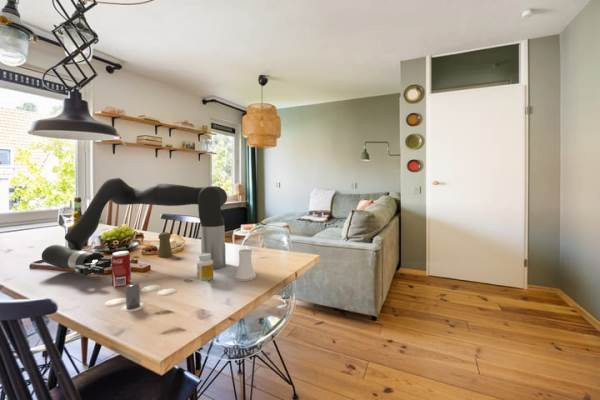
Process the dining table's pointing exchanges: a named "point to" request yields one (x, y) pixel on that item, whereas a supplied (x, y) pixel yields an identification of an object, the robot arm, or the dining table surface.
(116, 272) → the soda can
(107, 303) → the white oval discs
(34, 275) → the dining table surface
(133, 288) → the pin
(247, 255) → the salt shaker
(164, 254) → the olive green pepper shaker
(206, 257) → the supplement bottle
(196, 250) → the dining table surface
